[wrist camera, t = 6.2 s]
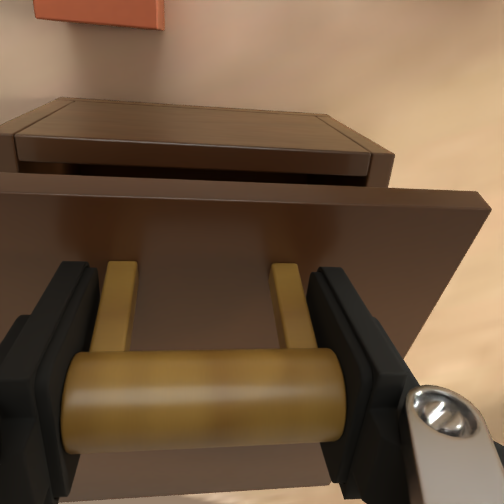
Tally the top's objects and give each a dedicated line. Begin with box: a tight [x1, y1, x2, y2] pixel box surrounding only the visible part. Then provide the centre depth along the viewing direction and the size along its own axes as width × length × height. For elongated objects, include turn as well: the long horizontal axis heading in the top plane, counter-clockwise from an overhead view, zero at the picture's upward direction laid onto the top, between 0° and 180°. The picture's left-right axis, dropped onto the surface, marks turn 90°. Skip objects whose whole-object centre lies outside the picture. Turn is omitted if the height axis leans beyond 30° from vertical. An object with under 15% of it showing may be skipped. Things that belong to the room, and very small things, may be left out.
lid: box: [0, 172, 492, 503], centre depth 14 cm, size 18×14×5 cm
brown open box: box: [0, 97, 395, 188], centre depth 22 cm, size 17×14×9 cm
